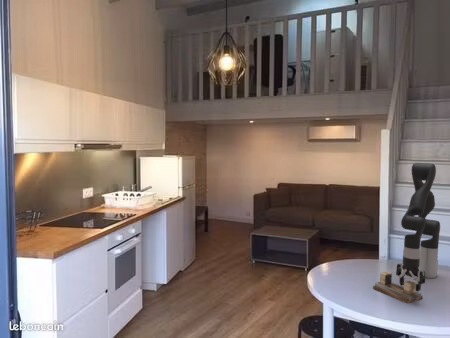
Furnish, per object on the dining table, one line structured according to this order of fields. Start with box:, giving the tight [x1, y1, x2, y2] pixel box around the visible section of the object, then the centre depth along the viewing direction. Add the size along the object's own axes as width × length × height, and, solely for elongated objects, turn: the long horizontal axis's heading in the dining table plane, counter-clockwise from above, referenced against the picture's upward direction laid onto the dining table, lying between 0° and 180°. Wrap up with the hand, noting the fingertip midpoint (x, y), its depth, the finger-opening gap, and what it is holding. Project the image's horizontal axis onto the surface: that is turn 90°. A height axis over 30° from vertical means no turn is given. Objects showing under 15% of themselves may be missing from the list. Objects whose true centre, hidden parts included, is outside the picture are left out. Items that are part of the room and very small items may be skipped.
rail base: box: [372, 271, 424, 304], centre depth 193 cm, size 12×20×8 cm, turn 28°
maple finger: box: [403, 279, 417, 295], centre depth 188 cm, size 5×3×7 cm, turn 118°
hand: (409, 288), depth 187 cm, fingers open, 8 cm apart
